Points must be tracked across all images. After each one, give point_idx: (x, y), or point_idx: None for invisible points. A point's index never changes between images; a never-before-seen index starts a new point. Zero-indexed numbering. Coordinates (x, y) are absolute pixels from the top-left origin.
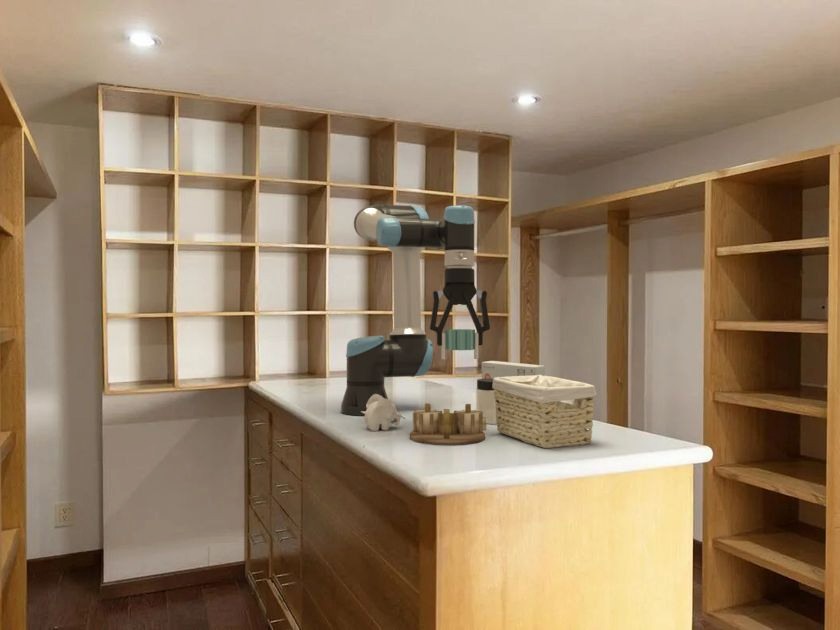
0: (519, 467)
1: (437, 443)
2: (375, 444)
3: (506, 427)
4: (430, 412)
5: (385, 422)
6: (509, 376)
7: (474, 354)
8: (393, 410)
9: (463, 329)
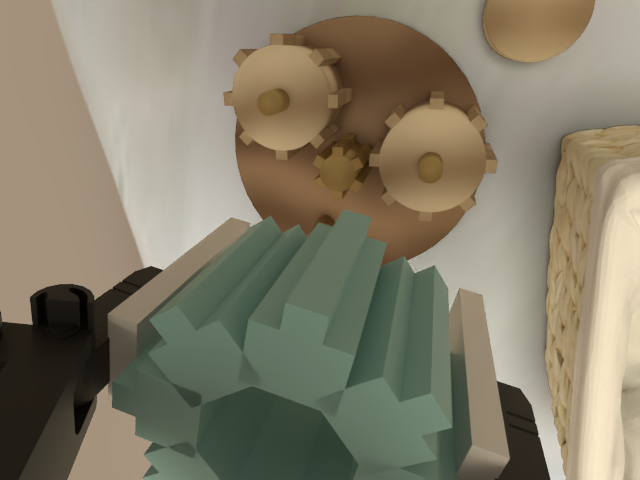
0: None
1: None
2: (146, 178)
3: (556, 220)
4: (284, 123)
5: None
6: None
7: (451, 324)
8: None
9: (336, 429)
